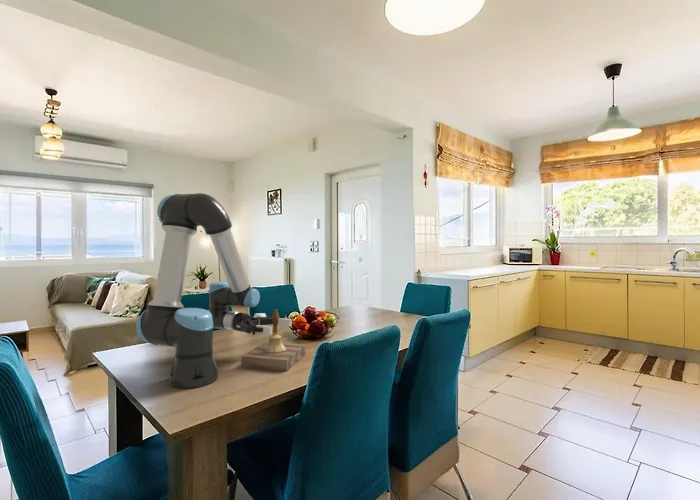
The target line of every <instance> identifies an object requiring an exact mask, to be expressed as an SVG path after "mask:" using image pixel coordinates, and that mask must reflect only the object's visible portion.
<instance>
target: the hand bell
mask: <svg viewBox="0 0 700 500" xmlns="http://www.w3.org/2000/svg"><path fill="white" fill-rule="evenodd" d="M271 317H272V322H273V324H272V325H273V326H272V334H271V335H270V336H269V339H268V340H269V341H268V342H269V344H268V346H267V347H266V348H265V352H268V353H280V352H283V351H285V350H286V347H285V346H284V345H283V343H284V342H283V341H282V336H281V335H280V334H278V332H279V330H278V326H279V325H278V321H279V317H280V316H279V312H278V309H276V308H275V309H273V312H272V315H271Z"/></svg>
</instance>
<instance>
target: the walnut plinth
mask: <svg viewBox="0 0 700 500" xmlns="http://www.w3.org/2000/svg"><path fill="white" fill-rule="evenodd" d="M282 343H283V345H284V346H285V347H286V350H285V351H283V352H280V353H268V352H265V348H266V347H267V346H268V344H269V341H264V342H263V343H261V344H260V345H258V346H256V347H254V348H253V349H251V350H250V351H248V352H246V353H245V354H242V356H241V368H248V369H249V368H250V369H261V370H270V371H271V370H272V371H283V372H288V371H289V370H290V369H291V368H293V367H294V366H295V365H296V364H297V363H298V362H299V361H300V360H301V359H303V357H305V356H306V355H307V344H299V343H287V342H282Z"/></svg>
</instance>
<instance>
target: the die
mask: <svg viewBox="0 0 700 500" xmlns="http://www.w3.org/2000/svg"><path fill="white" fill-rule="evenodd" d="M253 317H255V318H257V317H267V314H266V313H265V312H263V313H262V312H260V313H254V315H253ZM259 324H260V323H259ZM262 326H267V325H262Z"/></svg>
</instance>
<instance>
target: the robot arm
mask: <svg viewBox="0 0 700 500" xmlns="http://www.w3.org/2000/svg"><path fill="white" fill-rule="evenodd" d="M156 211H157V212H156V214H157V217H158V220H159V221H160V223H161V224H162V225H161V229H162V230H163V231H164V232H165V235H164V238H163V239H164V240H163V245H162V251H161V257H160V261H159V267H158V268H159V269H158V273H157V279H156V285H155V289H154V296H153V299H152V300H151V301H150V302H148V303H147V306H146V309H145V310H143V312H141V314H140V315H139V316H138V318H137V321H136V324H135V327H136V329H135V331H136V334H137V336H138V337H139V338H140V340H141V341H142V342H144V343H147V344H151V345H154V346H158V345H159V346H164V347H165V346H166V347H173V348H175V349H174V352H175V355H174V357H175V358H174V361H173V365H172V367H171V371H170V373H169V380H168V381H169V385H170V386H171V387H173V388H179V389H193V388H199V387H204V386H207V385H210V384H212V383H214V382H216V381H217V380H218V378H219V369H218V366H217V363H216V359H215V357H214V329H220V330H228V331H229V330H230V331H231V332H234V331H236V332H242V333H246V334H249V335H250V334H252V335H253V336H254V335H256V333H257V334H264V335H273V326H270V325H273V322H272V316H266V317H257V318H255V317H254V316H252V317H251V316H250V314H248V313H247V312H241V311H240V312H239V311H231V310H230V311H229V307H239V308H240V307H242V308H254V307H257V305H258V304H259V302H260V300H261V294H260V292H259V290H258V289H257V288H252V287H251V284H250V282H249V279H248V276H247V273H246V270H245V267H244V263H243V262H242V259H241V256H240V252H239V249H238V247H237V244H236V242H235V239H234V236H233V233H232V228H233V225H232V222H231V219H230V216H229V214H228V213H227V211H226V210H225V208H224V207H223V205H222V204H221V203H220V202H219V201H218V200H217V199H216V198H215V197H213V196H212V195H209V194H207V193H202V192H200V193H199V192H198V193H174V194H171V195H167V196H165V197H164V198H162V199H161V200H160V201H159V204H158V206H157V209H156ZM200 226H201V228H203V230H204V232H205V234H206V235H207V236H209V237H210V240H211V242H212V245H213V247H214V250H215V252H216V254H217V257H218V260H219V262H220V265H221V268H222V270H223V273H224V276H225V278H226V280H227V281H215V282H211V283H210V284H209V289H208V298H209V299H208V300H209V305H208V306H209V309H204V308H201V307H200V308H199V307H185V306H184V305H183V303H182V302H181V300H182V296H183V288H184V283H185V282H184V281H185V277H186V276H185V275H186V271H187V270H186V269H187V265H188V258H189V253H190V246H191V240H192V237H193V236H194V235H196V234H197V230H198V227H200ZM259 323H260V324H259ZM262 325H266V326H262ZM277 326H281V327H282V326H283V327H292V319H291V318H281V317H280V316H279V321H278V325H277Z"/></svg>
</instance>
